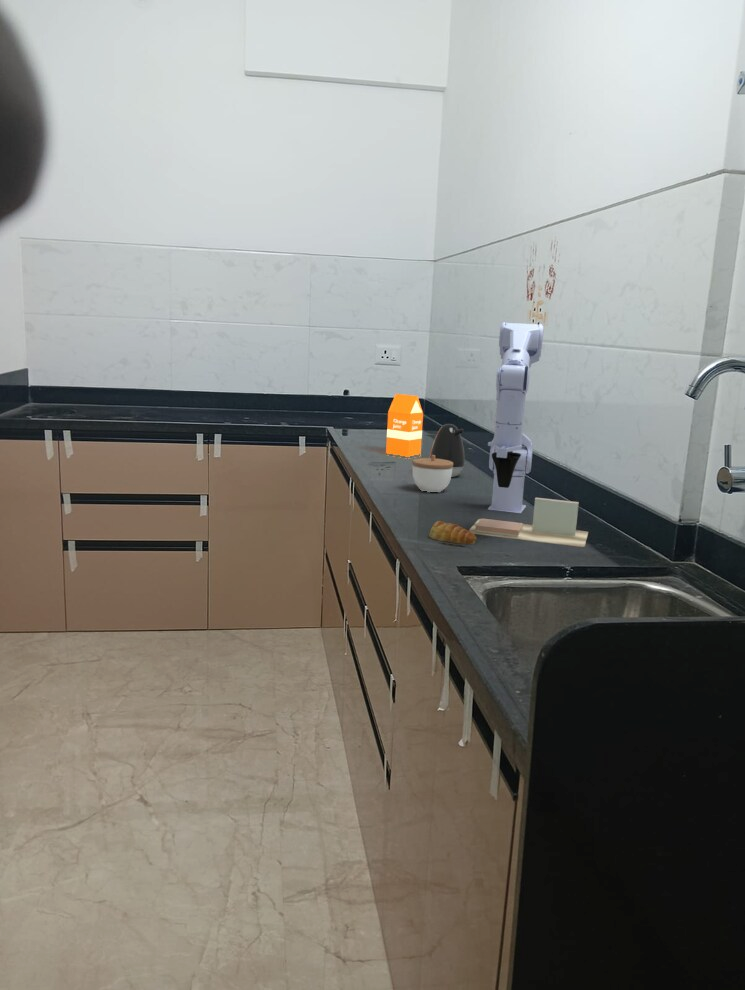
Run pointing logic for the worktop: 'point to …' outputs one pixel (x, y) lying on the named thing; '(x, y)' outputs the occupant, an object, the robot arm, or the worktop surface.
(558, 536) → the board
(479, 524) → the tile
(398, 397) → the orange juice
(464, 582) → the worktop surface
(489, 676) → the worktop surface
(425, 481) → the lidded jar
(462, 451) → the penguin figurine
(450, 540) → the pastry
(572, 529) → the tile
